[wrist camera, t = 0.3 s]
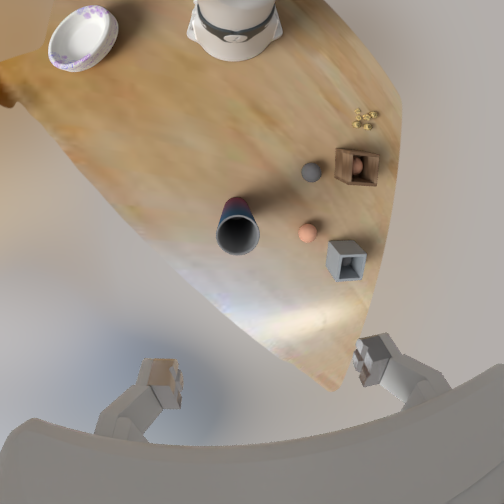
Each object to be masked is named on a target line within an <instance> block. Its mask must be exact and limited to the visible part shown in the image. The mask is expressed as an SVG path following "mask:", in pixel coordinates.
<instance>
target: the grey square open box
mask: <svg viewBox="0 0 504 504" xmlns="http://www.w3.org/2000/svg"><path fill="white" fill-rule="evenodd" d="M366 256H367V253H366V252H365V251H364V250H363V249H362V248H361V247H360V246H359V245H358V244H357V243H356V242H355V241H354V240H348V241H329V243H328V252H327V260H326V267H327V269H328V270H329V272H330V273H331V275H332V276H333V278H334V280H335V281H336V282H340V281H353V280H362V277H363V272H364V267H365V262H366ZM343 257H352V260H351V262H350V264H349V265H347V266H341V263H342V258H343Z"/></svg>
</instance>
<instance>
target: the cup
mask: <svg viewBox="0 0 504 504" xmlns="http://www.w3.org/2000/svg"><path fill="white" fill-rule="evenodd" d="M259 237H260V232H259V228H258V226H257V224H256V222H255V219H254V217H253V215H252V213H251V211H250V209H249V207H248V205H247V203H246V202H245V200H243V199H241V198H238V197H234V198H231V199H229V200H228V201H227V202H226V204H225V206H224V209H223V212H222V215H221V219H220V222H219V225H218V228H217V231H216V239H217V242H218V244H219V246H220V247H221V248H222V250H224V251H225V252H227V253H229V254H232V255H244V254H247V253H249V252H250V251H252V250H253V249H254V248H255V247H256V245H257V244H258V241H259Z"/></svg>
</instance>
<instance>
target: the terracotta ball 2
mask: <svg viewBox="0 0 504 504" xmlns="http://www.w3.org/2000/svg"><path fill="white" fill-rule="evenodd" d="M362 169H363V163H362V161H361V160H360V159H359V158H358V157H356V156H353V164H352V175H357V174H359V173H360V172H361V171H362Z"/></svg>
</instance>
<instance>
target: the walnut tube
mask: <svg viewBox="0 0 504 504" xmlns="http://www.w3.org/2000/svg"><path fill="white" fill-rule="evenodd" d="M353 156H356V157H358V158H359V159H360V160H361V161H362V163H363V169H362V171H361V172H360V173H359V174H357V175H352V164H353ZM378 167H379V154H375V153H370V152H366V151H360V150H350V149H339V148H336V159H335V177H334V178H336V179H338V180H340V181H342V182H344V183H346V184H348V185H362V186H377V178H378Z"/></svg>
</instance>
